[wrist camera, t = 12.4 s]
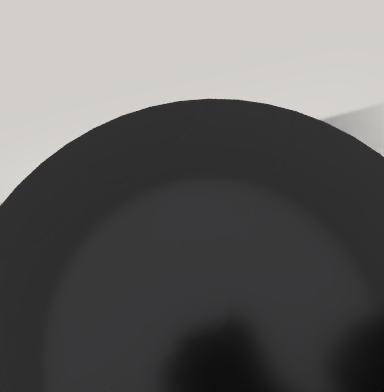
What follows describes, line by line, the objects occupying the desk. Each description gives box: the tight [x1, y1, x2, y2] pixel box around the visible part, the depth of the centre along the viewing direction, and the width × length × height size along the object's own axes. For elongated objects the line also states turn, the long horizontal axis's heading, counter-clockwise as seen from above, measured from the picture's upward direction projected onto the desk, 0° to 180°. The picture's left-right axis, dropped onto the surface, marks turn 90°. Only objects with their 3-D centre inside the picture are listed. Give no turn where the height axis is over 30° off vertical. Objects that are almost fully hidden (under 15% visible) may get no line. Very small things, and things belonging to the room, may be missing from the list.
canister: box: [0, 99, 384, 392], centre depth 9 cm, size 5×5×13 cm
